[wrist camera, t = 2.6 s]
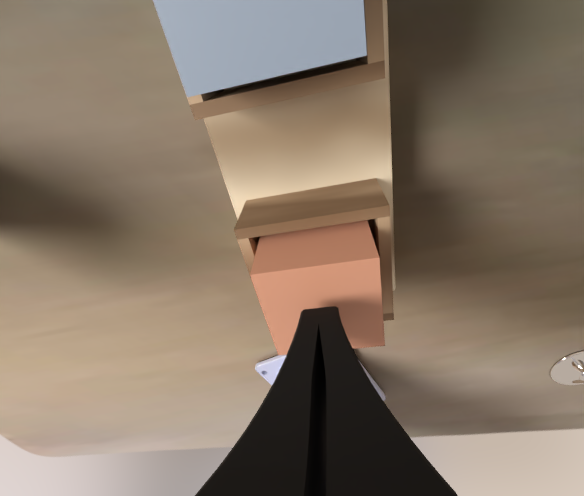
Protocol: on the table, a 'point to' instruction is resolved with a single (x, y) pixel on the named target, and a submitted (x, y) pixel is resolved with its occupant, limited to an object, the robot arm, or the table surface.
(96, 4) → the table surface
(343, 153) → the wooden socket board
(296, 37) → the slate key
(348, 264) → the terracotta key
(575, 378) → the wineglass
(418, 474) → the robot arm
